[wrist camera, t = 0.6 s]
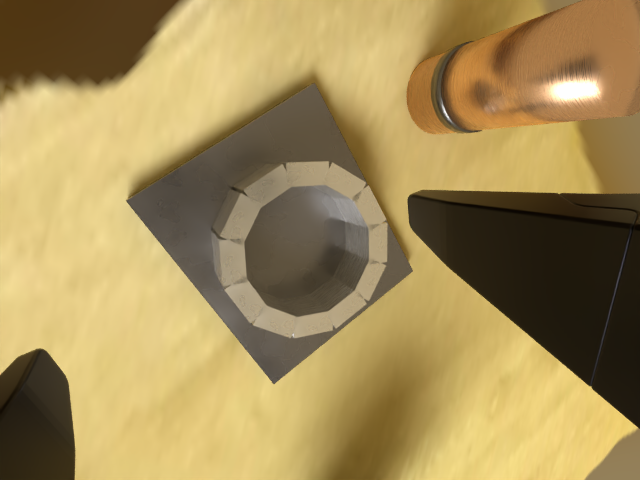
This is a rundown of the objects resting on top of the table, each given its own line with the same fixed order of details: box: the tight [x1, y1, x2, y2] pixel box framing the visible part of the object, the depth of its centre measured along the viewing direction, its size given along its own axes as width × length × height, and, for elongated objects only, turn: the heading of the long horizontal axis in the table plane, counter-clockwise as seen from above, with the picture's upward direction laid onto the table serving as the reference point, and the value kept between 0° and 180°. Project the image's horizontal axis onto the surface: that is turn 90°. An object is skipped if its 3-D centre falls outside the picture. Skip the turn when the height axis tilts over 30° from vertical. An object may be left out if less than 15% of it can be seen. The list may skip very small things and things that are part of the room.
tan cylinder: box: [407, 0, 640, 134], centre depth 21 cm, size 5×5×12 cm
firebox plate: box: [126, 83, 413, 384], centre depth 22 cm, size 14×12×4 cm
